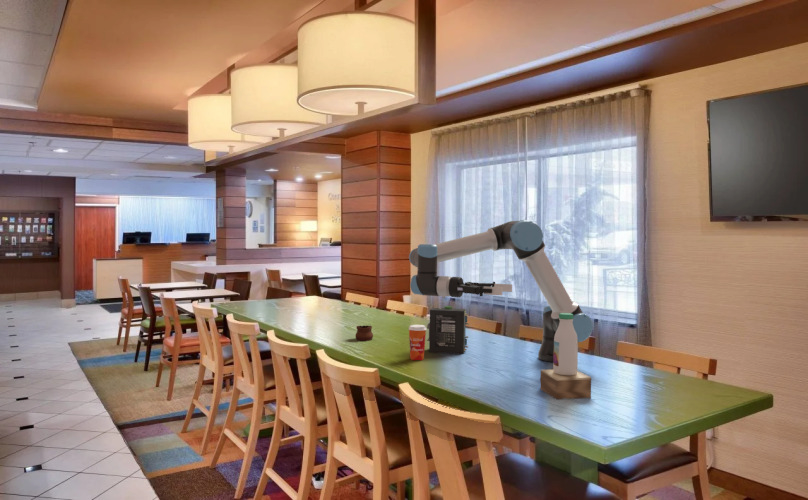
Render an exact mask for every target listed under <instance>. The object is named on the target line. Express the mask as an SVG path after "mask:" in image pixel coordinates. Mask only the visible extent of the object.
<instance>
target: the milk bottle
mask: <svg viewBox="0 0 808 500" xmlns="http://www.w3.org/2000/svg"><path fill="white" fill-rule="evenodd" d="M559 320H560V323H559V326H558V329H557V331H556V333H555V336H554V358H553V362H552V363H553V364H552V365H553V368H552V369H553V371H554V373H556V374H559V375H567V376H571V375H576V374H577V371H578V360H579V359H578V353H579V352H578V351H579V350H578V348H579V347H578V346H579V344H578V343H579V342H578V339H577V334H576V332H575V330H574V327H573V314H571V313H560V314H559Z"/></svg>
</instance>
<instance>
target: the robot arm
mask: <svg viewBox="0 0 808 500" xmlns="http://www.w3.org/2000/svg"><path fill="white" fill-rule="evenodd" d="M543 238H544V232H543V230H542V228H541V227H540V226H539V224H538V223H536V222H534V221H531V220H528V219H522V220H521V219H520V220H510V221H508V222H504V223H502V224H500V225H496V226H494V227H488V229H487V230H486V231H483V232H480V233H475V234H472V235H467V236H463V237H459V238H456V239H451V240H448V241H443V242H440V243H439V242H438V243H435V244H433V243H432V244H430V243H429V244H428V243H427V244H426V243H425V244H424V243H423V244H422V243H421V244H420V243H419V244H418V245H417V247H416V248H413V249H412V250H411V251H410V253H409V254H408V259H409V260H408V261H409V263H411V265H412V266H413V267H415V268H417V272H416V274H414V275H413V276H412V277H411V280H410V283H409V284H410V285H409V286H410V291H411V293H413V294H414V295H419V296H434V297H442V298H443V299H445V298H446V297H451V298H461V297H462V296H463V294H471V295H477V296H478V295H479V297H483V296H484V295H491V296H503V292H505V293H506V292H507V293H512V292H513V284H509V283H508V284H507V283H496V281H492V283H491V282H487V283H486V282H472V281H467V282H464V279H463V278H462V277H461V276H448V275H447V276H446V275H445V276H444V275H439V276H438V264H439V263H444V262H445V261H446V262H447V261H449V260H450V261H451V260H454V259H457V258H463V257H466V256H470V255H474V254H478V253H481V252H485V251H486V252H487V251H490V250H492V251H494V252H496V251H500V250H513V252H514V253H515V255H516V257H517V259H518V260H520V261H523V262H524V263H525V265H526V267H527V268H528V271H529V272H530V274H531V275H532V278H533V279H534V281H535V282H536V284H537V286H538V289H540V292H541V294H542V295H543V297H544V299H545V300H546V302H547V304H548V305H545V306H544V307H543V312H542V315H543V316H542V319H543V320H542V342H541V345H540V347H539V350H538V353H537V354H538V355H537V358H538V359H539V360H541V361H545V362H549V363H553V358H554V336H555V333H556V331H557V329H558V326H559V323H560V320H559V314H560V313H571V314H573V327H574V330H575V332H576V334H577V339H578V343H582V342H584V341H586V340H587V339H588V338H589V337H590V336H591V335H592V332H593V329H594V323H593V320H592V318H591V317H590V315H588V314H586V313H584V312H583V310H582V309H581V307H580V305H579V303H578V302H577V301H573V300H572V299H571V297H570V296H569V293H568V292H567V289H566V288H565V286H564V284H563V283H562V281H561V280H560V277H559V276H558V273H557V272H556V270H555V268H554V267H553V265H552V263H551V261H550V259H549V257H548V255H547V254H546V252H545V248H546V244H545V242H544V240H543Z"/></svg>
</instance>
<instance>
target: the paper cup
mask: <svg viewBox="0 0 808 500" xmlns="http://www.w3.org/2000/svg"><path fill="white" fill-rule="evenodd" d="M408 332H409V333H408V337H409V338H408V339H409V357H410V360H411V361H415V360H420V361H423V360H424V359H425V348H426V347H425V345H426V334H427V326H426V325H425V324H410V325H409V326H408Z"/></svg>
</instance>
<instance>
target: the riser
mask: <svg viewBox="0 0 808 500" xmlns="http://www.w3.org/2000/svg"><path fill="white" fill-rule="evenodd" d="M540 378H541V380H540V390H541V391H542V392H544V393H546V394H547V395H549V396H551V397H552V396H553V397H552V398H553V399H555V398H556V400H564V399H563V398H567V399H566V400H569V398H570V399H589V398H591V397H592V377H591V376H589V375H587V374H585V373H583V372H581V371H579V370H577V374H576V375H571V376H567V375H559V374H556V373H554V371H553V368H552V369H540Z"/></svg>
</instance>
